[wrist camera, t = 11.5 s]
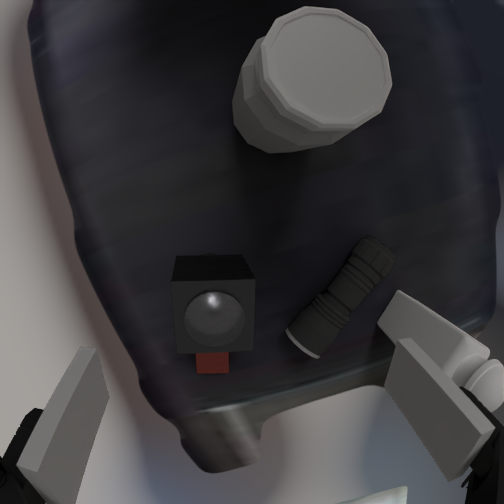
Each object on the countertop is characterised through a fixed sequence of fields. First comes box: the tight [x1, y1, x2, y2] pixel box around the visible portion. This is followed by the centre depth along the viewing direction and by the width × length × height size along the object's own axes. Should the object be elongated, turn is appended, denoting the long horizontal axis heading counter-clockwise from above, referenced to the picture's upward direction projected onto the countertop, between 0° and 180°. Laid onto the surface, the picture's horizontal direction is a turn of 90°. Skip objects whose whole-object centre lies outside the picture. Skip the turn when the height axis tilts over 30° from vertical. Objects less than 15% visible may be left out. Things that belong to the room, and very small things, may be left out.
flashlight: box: [286, 235, 396, 358], centre depth 37 cm, size 15×5×5 cm, turn 142°
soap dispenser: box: [377, 290, 504, 412], centre depth 31 cm, size 6×6×22 cm
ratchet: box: [196, 253, 229, 374], centre depth 35 cm, size 15×6×6 cm, turn 179°
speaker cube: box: [171, 255, 255, 354], centre depth 31 cm, size 7×7×8 cm
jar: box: [232, 6, 392, 154], centre depth 24 cm, size 10×10×18 cm
